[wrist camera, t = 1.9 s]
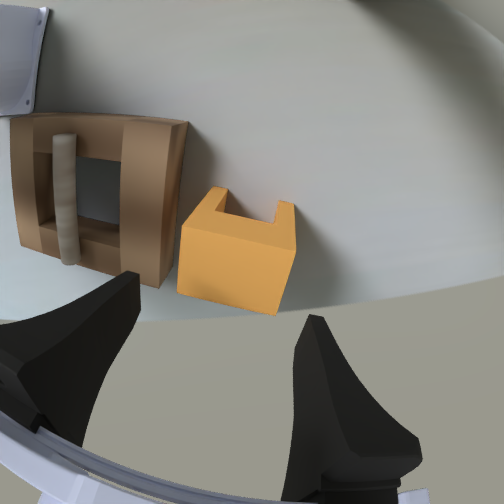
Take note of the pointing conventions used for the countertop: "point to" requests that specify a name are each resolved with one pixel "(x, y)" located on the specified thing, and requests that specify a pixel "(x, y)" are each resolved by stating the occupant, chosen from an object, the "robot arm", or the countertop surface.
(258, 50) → the countertop surface
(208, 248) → the orange notched block
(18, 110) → the robot arm
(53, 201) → the square wooden frame
